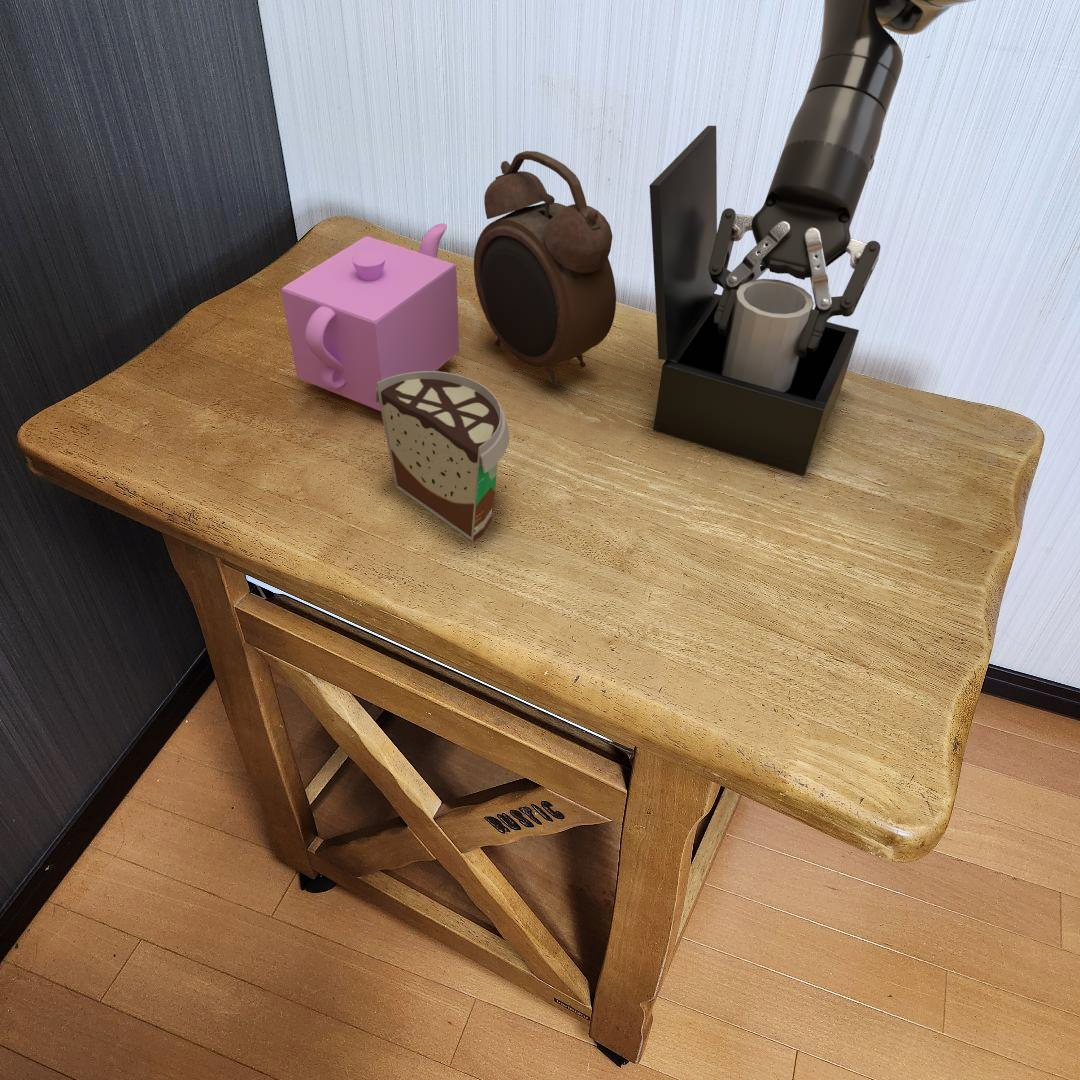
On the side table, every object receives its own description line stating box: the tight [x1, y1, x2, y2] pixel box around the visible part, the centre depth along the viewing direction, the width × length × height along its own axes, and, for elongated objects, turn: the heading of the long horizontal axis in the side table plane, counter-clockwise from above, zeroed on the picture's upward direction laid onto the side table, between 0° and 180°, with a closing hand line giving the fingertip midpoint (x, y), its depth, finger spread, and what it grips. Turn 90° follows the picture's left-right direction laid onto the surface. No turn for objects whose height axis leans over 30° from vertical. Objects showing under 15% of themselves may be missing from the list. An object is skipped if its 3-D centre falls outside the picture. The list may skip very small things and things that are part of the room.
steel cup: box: [721, 278, 815, 392], centre depth 80 cm, size 6×6×8 cm
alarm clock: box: [473, 150, 617, 388], centre depth 83 cm, size 15×7×20 cm, turn 41°
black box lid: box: [649, 125, 718, 361], centre depth 77 cm, size 15×14×1 cm
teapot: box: [280, 222, 460, 412], centre depth 84 cm, size 20×10×12 cm, turn 150°
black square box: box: [652, 293, 860, 477], centre depth 83 cm, size 14×14×7 cm
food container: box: [375, 371, 510, 543], centre depth 72 cm, size 12×6×10 cm, turn 47°
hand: (761, 343), depth 79 cm, fingers closed on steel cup, 6 cm apart
